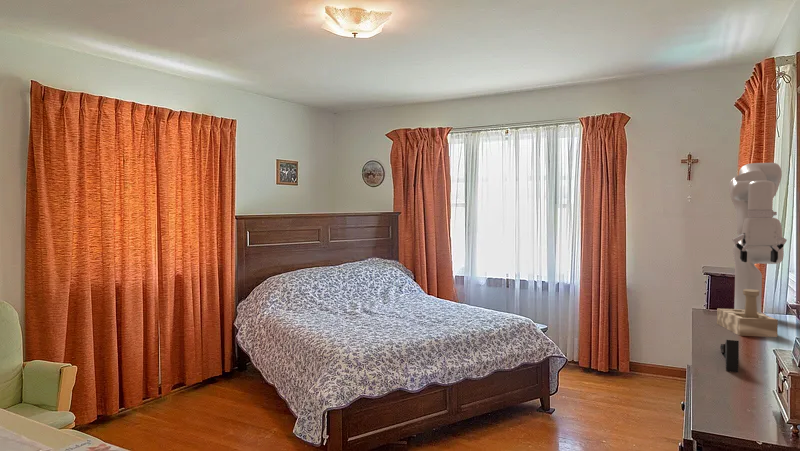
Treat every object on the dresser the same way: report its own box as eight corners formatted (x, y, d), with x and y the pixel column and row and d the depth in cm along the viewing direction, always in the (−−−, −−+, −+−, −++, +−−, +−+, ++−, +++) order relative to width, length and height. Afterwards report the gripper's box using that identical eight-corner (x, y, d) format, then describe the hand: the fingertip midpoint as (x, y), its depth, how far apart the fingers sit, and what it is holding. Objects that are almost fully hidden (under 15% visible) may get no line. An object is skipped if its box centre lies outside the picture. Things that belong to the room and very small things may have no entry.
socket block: (716, 323, 211) (717, 308, 211) (750, 325, 209) (751, 309, 209) (739, 335, 191) (739, 318, 191) (777, 337, 189) (777, 319, 189)
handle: (759, 331, 197) (759, 289, 197) (757, 334, 192) (758, 292, 192) (743, 329, 200) (744, 288, 200) (741, 332, 195) (742, 290, 195)
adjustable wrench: (729, 368, 168) (738, 372, 146) (719, 367, 169) (726, 371, 147) (729, 341, 169) (738, 340, 147) (719, 340, 170) (726, 339, 148)
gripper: (781, 214, 199) (780, 261, 200) (729, 214, 203) (728, 260, 204) (791, 215, 192) (790, 263, 193) (737, 215, 195) (736, 262, 196)
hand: (758, 261), depth 198 cm, fingers open, 9 cm apart
